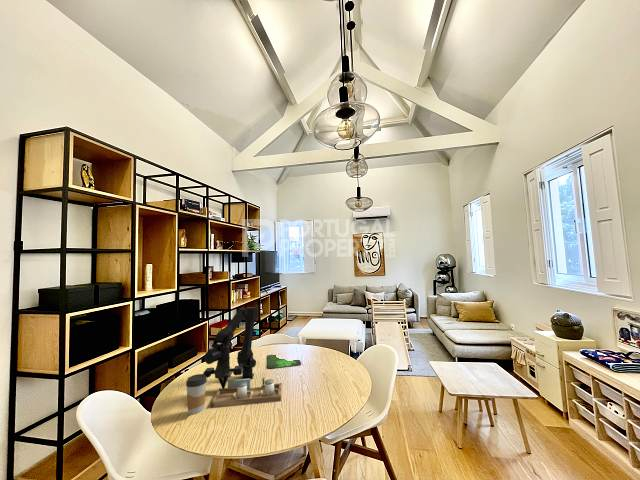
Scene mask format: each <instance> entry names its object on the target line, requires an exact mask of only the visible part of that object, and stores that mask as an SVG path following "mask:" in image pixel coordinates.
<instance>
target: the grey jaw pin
mask: <svg viewBox="0 0 640 480" xmlns="http://www.w3.org/2000/svg"><path fill="white" fill-rule="evenodd" d="M274 384H275V380H274V379H271V378H270V379H266V380H264V385H265V397H266V396H274Z"/></svg>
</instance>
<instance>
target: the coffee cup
mask: <svg viewBox="0 0 640 480" xmlns="http://www.w3.org/2000/svg"><path fill="white" fill-rule="evenodd" d="M185 386H186V404H187V414H188V416H191V415H197V414H200V413H202V412H203V411H204V410H205V403H206V389H207V378H206V376H205V375H204V374H203V373H198V374H193V375H190V376H189V377H187V380H186V384H185Z"/></svg>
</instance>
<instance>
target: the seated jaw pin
mask: <svg viewBox="0 0 640 480" xmlns="http://www.w3.org/2000/svg"><path fill="white" fill-rule="evenodd" d="M245 398H247V382H240V383H238V384H237V399H245Z"/></svg>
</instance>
